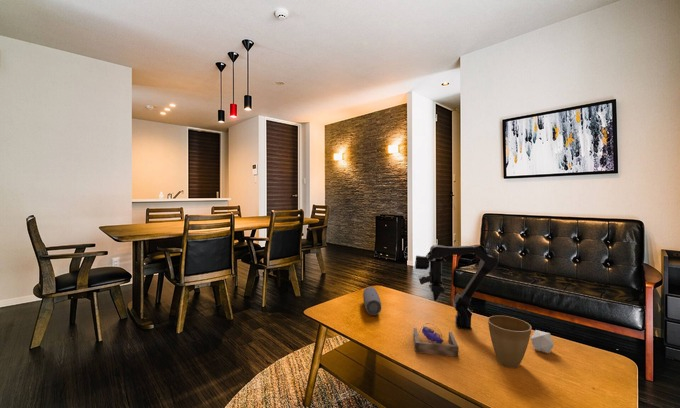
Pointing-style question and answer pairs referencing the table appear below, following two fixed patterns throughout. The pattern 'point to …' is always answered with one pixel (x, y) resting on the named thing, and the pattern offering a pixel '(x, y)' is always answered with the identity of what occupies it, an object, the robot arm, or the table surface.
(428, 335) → the game controller
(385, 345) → the table surface
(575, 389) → the table surface
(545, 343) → the die
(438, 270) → the robot arm
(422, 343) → the docking bay
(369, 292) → the bluetooth speaker
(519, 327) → the plant pot
